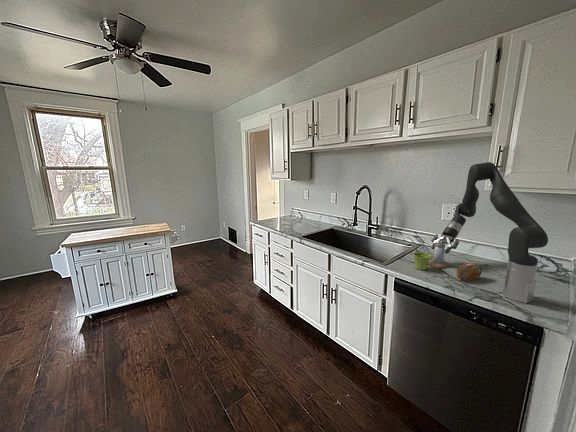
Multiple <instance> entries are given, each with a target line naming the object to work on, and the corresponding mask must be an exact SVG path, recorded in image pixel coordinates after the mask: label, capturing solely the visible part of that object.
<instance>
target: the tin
mask: <svg viewBox="0 0 576 432" xmlns="http://www.w3.org/2000/svg"><path fill="white" fill-rule="evenodd" d="M482 271H483V269H482V265H480V264H479V263H474V262H472V263H467V264H461V265H460V266H459V267H458V268H457V270H456V278H457V279H458V280H460V281H463V282H468V281H473V280H478V279H479V278H480V277H481V275H482Z"/></svg>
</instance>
